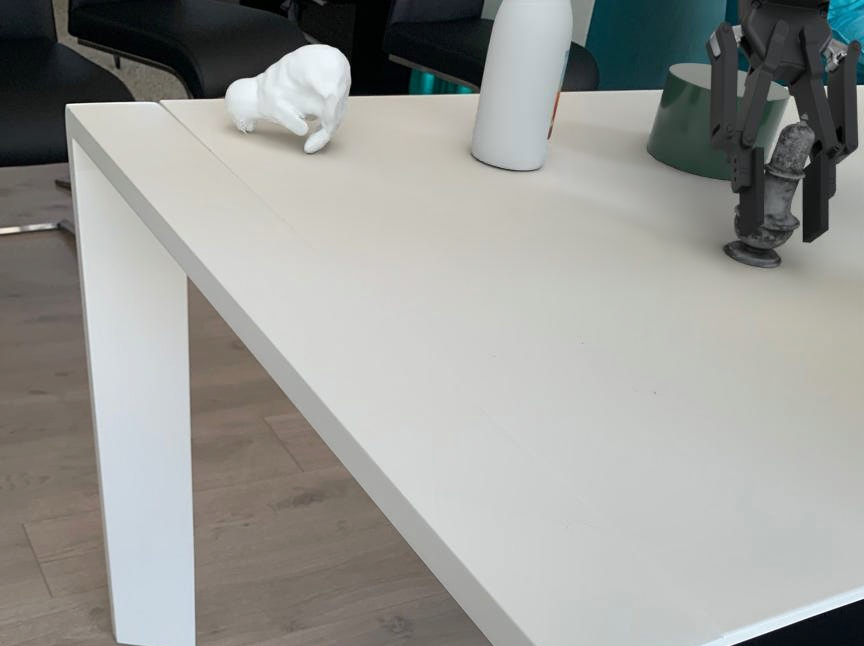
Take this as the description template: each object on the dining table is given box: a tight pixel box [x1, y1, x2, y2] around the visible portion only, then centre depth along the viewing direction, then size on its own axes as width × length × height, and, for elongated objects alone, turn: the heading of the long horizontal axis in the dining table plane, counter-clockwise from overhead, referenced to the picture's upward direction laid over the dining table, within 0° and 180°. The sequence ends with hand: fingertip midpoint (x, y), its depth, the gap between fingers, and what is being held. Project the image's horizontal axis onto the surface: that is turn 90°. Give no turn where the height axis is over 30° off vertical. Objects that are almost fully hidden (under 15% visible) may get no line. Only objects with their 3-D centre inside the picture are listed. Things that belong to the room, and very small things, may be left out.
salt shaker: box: [723, 113, 815, 268], centre depth 88 cm, size 6×6×12 cm
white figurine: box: [224, 43, 352, 154], centre depth 96 cm, size 6×8×12 cm
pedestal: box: [646, 62, 791, 181], centre depth 111 cm, size 13×13×8 cm
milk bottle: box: [470, 0, 574, 171], centre depth 97 cm, size 8×8×20 cm
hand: (783, 232), depth 87 cm, fingers closed on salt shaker, 5 cm apart
